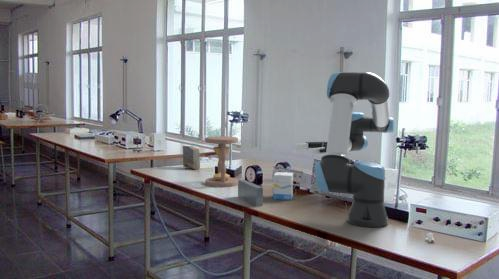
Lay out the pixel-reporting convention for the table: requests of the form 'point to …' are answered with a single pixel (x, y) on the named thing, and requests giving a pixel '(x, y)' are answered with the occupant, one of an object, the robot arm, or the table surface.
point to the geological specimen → (191, 157)
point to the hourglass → (221, 162)
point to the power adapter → (430, 237)
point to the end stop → (250, 192)
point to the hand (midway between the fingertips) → (304, 149)
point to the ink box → (283, 186)
